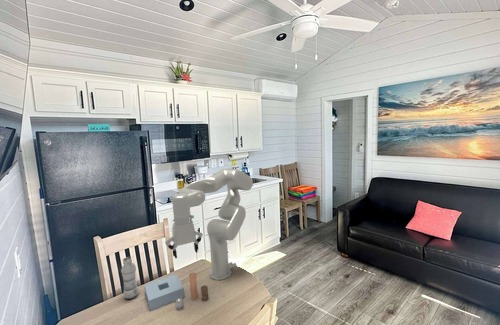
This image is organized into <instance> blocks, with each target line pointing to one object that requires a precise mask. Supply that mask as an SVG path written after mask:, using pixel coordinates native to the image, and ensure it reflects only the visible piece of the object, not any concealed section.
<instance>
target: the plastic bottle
mask: <svg viewBox="0 0 500 325" xmlns="http://www.w3.org/2000/svg"><path fill="white" fill-rule="evenodd" d="M122 262H123V265H122V267H121V269H120V272H121V276H122V280H123V296H124V298H125V299H127V300H131V299H134V298H135V297H136V296H137V295H138V293H139V287H138V284H137V278H136V273H137V272H136V271H137V266H136V265H135V263H133V260H132V257H131V256H127V257H124V258H123V260H122Z"/></svg>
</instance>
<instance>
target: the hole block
mask: <svg viewBox="0 0 500 325" xmlns="http://www.w3.org/2000/svg"><path fill="white" fill-rule="evenodd" d="M143 286H144V295H145V299H146V302H147V306H148V308H149V311H153V310H155V309H158V308H160V307H163V306H165V305H168V304H170V303H174V302H176V300H175V299H176V298H177V297H183V298H186V297H185V287H184V285H183V284H182V282H181V281H180V279H179V276H178V275H177V274H176V273H175V274H172V275H170V276H166V277H163V278H160V279H158V280H155V281H151V282H147V283H145V284H144V285H143Z"/></svg>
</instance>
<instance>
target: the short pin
mask: <svg viewBox="0 0 500 325" xmlns="http://www.w3.org/2000/svg"><path fill="white" fill-rule="evenodd" d="M175 300H176V301H175V308H176V310H177V311H182V310H183V309H184V299H183V297H177V298H176V299H175Z"/></svg>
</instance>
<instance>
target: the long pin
mask: <svg viewBox="0 0 500 325" xmlns="http://www.w3.org/2000/svg"><path fill="white" fill-rule="evenodd" d="M188 275H189V276H188V278H189V288H190V299H191V300H193V301H194V300H197V299H198V298H199V294H198V282H197V273H196V272H191V273H189V274H188Z"/></svg>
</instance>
